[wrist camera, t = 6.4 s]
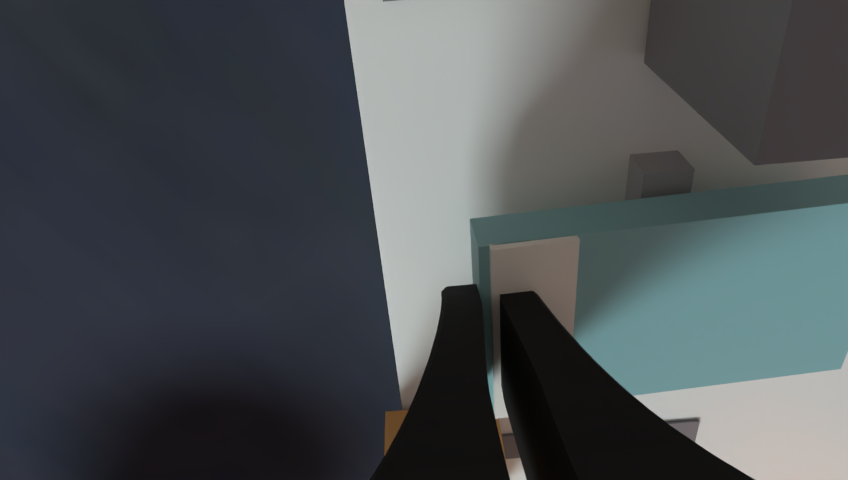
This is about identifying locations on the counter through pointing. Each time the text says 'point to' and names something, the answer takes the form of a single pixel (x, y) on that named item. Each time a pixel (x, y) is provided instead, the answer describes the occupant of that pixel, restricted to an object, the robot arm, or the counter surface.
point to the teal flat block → (680, 282)
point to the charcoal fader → (759, 72)
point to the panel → (556, 184)
